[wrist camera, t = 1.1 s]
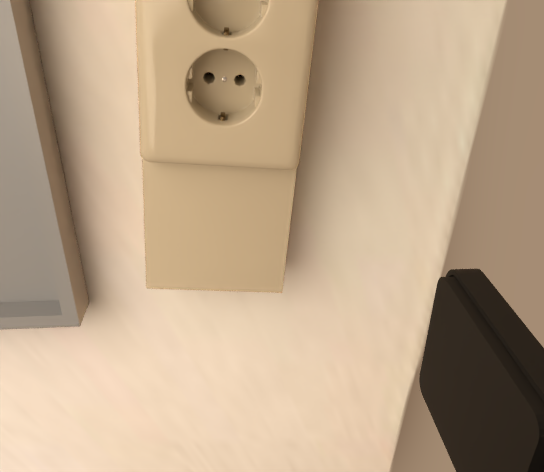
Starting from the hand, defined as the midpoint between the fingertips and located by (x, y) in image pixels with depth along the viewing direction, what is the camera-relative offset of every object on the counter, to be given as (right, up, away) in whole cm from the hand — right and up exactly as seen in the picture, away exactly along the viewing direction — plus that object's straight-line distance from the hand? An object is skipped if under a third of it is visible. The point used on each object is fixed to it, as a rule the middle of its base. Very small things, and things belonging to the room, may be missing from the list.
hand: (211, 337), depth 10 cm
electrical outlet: (-1, +9, +16) cm, 18 cm away
